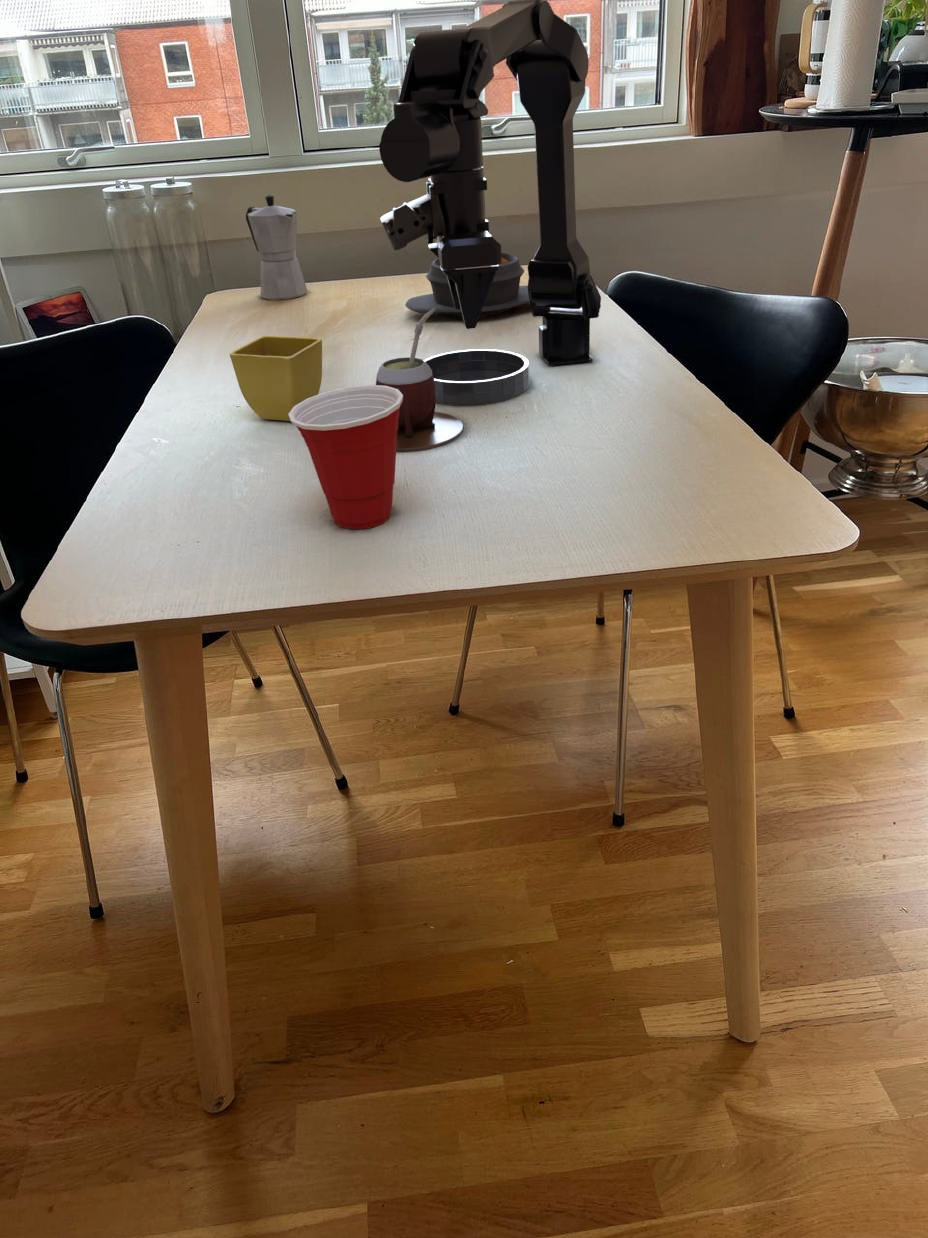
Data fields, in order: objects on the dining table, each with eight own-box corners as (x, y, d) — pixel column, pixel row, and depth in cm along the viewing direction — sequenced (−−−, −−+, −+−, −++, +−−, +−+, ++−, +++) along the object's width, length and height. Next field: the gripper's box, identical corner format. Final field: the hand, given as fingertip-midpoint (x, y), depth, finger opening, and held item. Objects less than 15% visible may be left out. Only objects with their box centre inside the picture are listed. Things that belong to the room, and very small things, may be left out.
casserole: (531, 291, 173) (530, 244, 169) (560, 314, 158) (560, 262, 153) (398, 306, 170) (394, 257, 165) (415, 330, 154) (411, 277, 150)
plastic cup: (308, 500, 97) (291, 387, 91) (412, 491, 98) (401, 378, 92) (302, 546, 88) (281, 424, 82) (416, 536, 88) (404, 414, 82)
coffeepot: (323, 293, 182) (310, 193, 173) (283, 303, 177) (268, 200, 168) (278, 284, 192) (263, 189, 183) (239, 293, 187) (222, 196, 177)
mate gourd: (381, 421, 116) (367, 296, 108) (444, 416, 116) (435, 291, 108) (379, 442, 109) (364, 311, 101) (446, 438, 109) (437, 306, 102)
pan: (517, 366, 134) (517, 345, 132) (539, 398, 121) (539, 375, 119) (412, 376, 132) (410, 355, 131) (423, 410, 120) (421, 387, 118)
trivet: (455, 409, 119) (455, 406, 119) (470, 445, 108) (470, 442, 108) (354, 419, 118) (353, 416, 118) (358, 456, 107) (357, 453, 107)
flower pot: (332, 405, 123) (323, 337, 119) (302, 428, 116) (291, 356, 112) (274, 402, 126) (262, 335, 121) (240, 424, 119) (227, 353, 114)
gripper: (376, 165, 106) (390, 305, 114) (386, 185, 90) (401, 346, 99) (472, 157, 107) (479, 297, 115) (499, 176, 91) (505, 336, 100)
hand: (465, 318), depth 107 cm, fingers open, 9 cm apart
